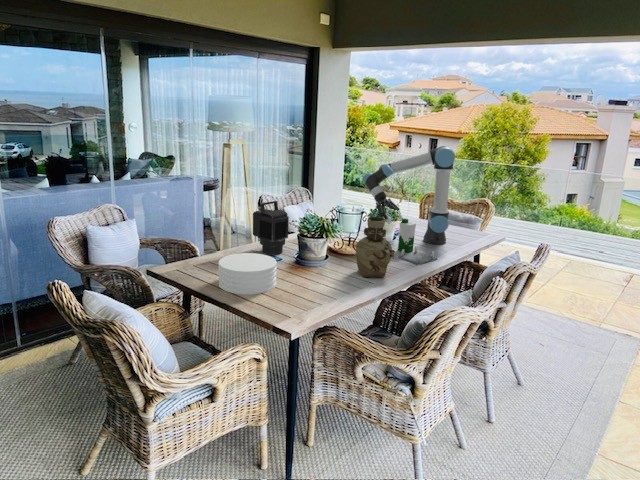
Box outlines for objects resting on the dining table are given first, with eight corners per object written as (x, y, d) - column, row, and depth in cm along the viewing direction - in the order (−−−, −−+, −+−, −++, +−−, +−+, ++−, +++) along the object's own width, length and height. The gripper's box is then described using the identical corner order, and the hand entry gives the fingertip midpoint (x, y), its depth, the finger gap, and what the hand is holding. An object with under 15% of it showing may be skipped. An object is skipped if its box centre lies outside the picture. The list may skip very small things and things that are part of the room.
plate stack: (249, 270, 256) (249, 249, 252) (287, 284, 239) (288, 262, 236) (207, 283, 235) (206, 261, 231) (245, 299, 218) (245, 275, 215)
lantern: (273, 257, 278) (274, 206, 270) (251, 250, 288) (251, 201, 280) (290, 251, 290) (291, 203, 281) (268, 245, 300) (269, 198, 292)
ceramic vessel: (384, 282, 247) (389, 226, 239) (348, 274, 257) (351, 219, 248) (397, 272, 263) (403, 219, 255) (363, 264, 273) (366, 213, 264)
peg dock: (416, 252, 300) (416, 245, 299) (437, 259, 289) (438, 251, 287) (397, 257, 289) (398, 249, 287) (418, 264, 277) (419, 256, 276)
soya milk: (402, 247, 310) (405, 217, 304) (414, 250, 305) (418, 220, 299) (395, 250, 303) (398, 219, 298) (408, 253, 298) (411, 222, 292)
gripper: (385, 195, 321) (402, 221, 315) (363, 200, 302) (381, 227, 297) (393, 189, 316) (410, 215, 311) (371, 193, 298) (389, 221, 292)
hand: (396, 221), depth 304 cm, fingers open, 13 cm apart
